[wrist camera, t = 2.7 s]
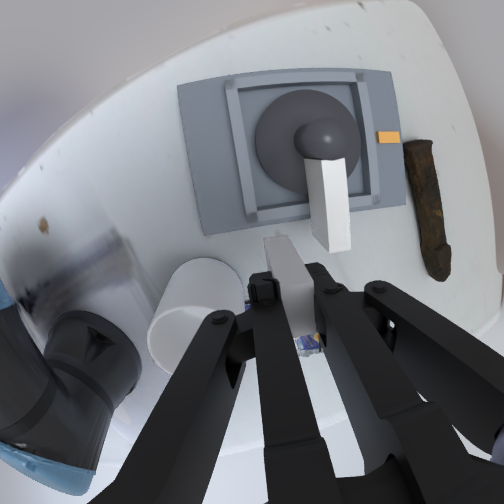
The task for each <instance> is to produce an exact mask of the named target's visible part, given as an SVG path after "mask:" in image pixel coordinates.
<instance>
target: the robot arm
mask: <svg viewBox="0 0 504 504" xmlns="http://www.w3.org/2000/svg"><path fill="white" fill-rule="evenodd" d="M264 246H265V253H266V259H267V266H268V271H267V272H261V273H255V274H252V275H251V277H250V278H249V284H248V287H247V288H248V293H249V299H250V304H251V306H250V308H249V309H248V310H246V311H245V312H243V313H241V314H238V315H235V314H234V313H233V312H232V311H230V310H216V311H213V312H211V313H210V314H208V315H207V316H206V317H205V318H204V320H203V321H202V323H201V325H200V327H199V328H198V330H197V332H196V334H195V335H194V337H193V339H192V341H191V343H190V344H189V346H188V348H187V350H186V351H185V353H184V355H183V357H182V359H181V360H180V362H179V364H178V366H177V368H176V369H175V371H174V373H173V375H172V376H171V378H170V380H169V382H168V384H167V385H166V387H165V389H164V391H163V393H162V394H161V396H160V398H159V400H158V402H157V403H156V405H155V407H154V409H153V411H152V413H151V414H150V416H149V418H148V420H147V422H146V423H145V425H144V427H143V429H142V431H141V432H140V434H139V436H138V438H137V440H136V442H135V443H134V445H133V447H132V449H131V451H130V453H129V454H128V456H127V458H126V460H125V462H124V464H123V465H122V467H121V469H120V471H119V473H118V475H117V477H116V478H115V480H114V481H113V482H112V483H111V484H110V485H109V486H107V487H106V488H105V489H104V490H103V491H102V492H100V493H99V494H98V495H97V496H96V497H95V498H93V499H92V500H91V501H90V502H89V503H87V504H202V502H203V499H204V496H205V493H206V490H207V488H208V485H209V482H210V479H211V476H212V473H213V470H214V467H215V463H216V460H217V458H218V454H219V451H220V448H221V445H222V442H223V439H224V436H225V433H226V429H227V426H228V423H229V420H230V417H231V413H232V410H233V407H234V404H235V400H236V397H237V394H238V391H239V387H240V384H241V381H242V377H243V374H244V371H245V367H246V361H247V360H249V359H252V358H254V357H256V365H257V375H258V385H259V395H260V405H261V415H262V424H263V434H264V444H265V447H264V463H265V472H266V482H267V492H268V500H269V501H268V502H266V503H265V504H504V357H503V356H501V355H500V354H498V353H497V352H496V351H494V350H493V349H491V348H490V347H489V346H487V345H486V344H484V343H482V342H481V341H480V340H478V339H477V338H475V337H474V336H472V335H471V334H469V333H468V332H466V331H465V330H463V329H462V328H460V327H459V326H457V325H456V324H454V323H453V322H451V321H450V320H448V319H447V318H445V317H443V316H442V315H440V314H439V313H437V312H436V311H434V310H432V309H431V308H429V307H428V306H426V305H425V304H423V303H421V302H420V301H418V300H416V299H415V298H413V297H412V296H410V295H408V294H407V293H405V292H403V291H402V290H400V289H399V288H397V287H395V286H394V285H392V284H390V283H388V282H386V281H381V280H378V281H377V280H376V281H372V282H369V283H367V284H366V285H365V287H364V292H350V291H349V290H348V289H347V288H346V287H345V286H344V285H343V284H340V283H336V282H335V281H334V280H333V278H332V277H331V275H330V274H329V272H328V271H327V270H326V268H325V267H324V265H322V264H320V263H318V262H316V263H310V264H304V263H303V262H302V260H301V258H300V256H299V255H298V253H297V251H296V249H295V248H294V246H293V244H292V242H291V241H290V239H289V237H288V236H287V235H283V236H276V237H270V238H264ZM13 303H14V301H13V299H12V297H10V296H9V295H8V293H7V291H6V289H5V287H4V285H3V283H2V281H1V279H0V459H2V460H3V461H4V462H6V463H7V464H9V465H10V466H11V467H13V468H15V469H16V470H18V471H19V472H21V473H23V474H24V475H26V476H28V477H30V478H32V479H33V480H35V481H37V482H39V483H41V484H43V485H46V486H48V487H50V488H52V489H55V490H57V491H60V492H63V493H66V494H69V495H74V496H81V495H83V494H85V493H86V492H87V491H88V489H89V487H90V483H91V481H92V478H93V475H95V474H96V469H97V465H98V462H99V458H100V454H101V451H102V447H103V444H104V441H105V437H106V434H107V431H108V428H109V424H110V421H111V418H112V415H113V412H114V410H115V409H116V408H117V407H118V406H119V404H120V403H121V402H122V401H123V400H124V398H125V396H127V395H128V394H130V393H131V392H132V391H133V390H134V388H135V387H136V385H137V382H138V379H139V377H140V374H141V361H140V357H139V354H138V352H137V350H136V348H135V347H134V345H133V344H132V342H131V341H130V340H129V339H128V337H127V336H126V335H125V334H124V333H123V332H122V331H121V330H120V329H118V328H117V327H116V326H115V325H113V324H112V323H110V322H109V321H107V320H106V319H104V318H102V317H100V316H98V315H95V314H92V313H89V312H85V311H70V312H67V313H64V314H63V315H61V316H60V317H59V318H58V319H57V321H56V322H55V323H54V324H53V326H52V327H51V329H50V331H49V334H48V340H47V343H46V346H45V350H44V353H43V355H42V354H41V352H40V351H39V349H38V347H37V346H36V344H35V343H34V341H33V339H32V338H31V336H30V334H29V333H28V331H27V329H26V327H25V326H24V324H23V322H22V320H21V318H20V316H19V315H18V313H17V311H16V309H15V307H14V305H13ZM390 321H392V322H393V323H394V324H395V326H394V328H392V327H391V326H390ZM316 326H317V328H318V334H319V352H321V348H322V349H323V352H324V354H325V357H326V359H327V362H328V364H329V367H330V370H331V372H332V375H333V377H334V380H335V383H336V385H337V388H338V390H339V393H340V396H341V398H342V401H343V404H344V406H345V409H346V412H347V414H348V417H349V420H350V422H351V425H352V428H353V431H354V433H355V436H356V439H357V442H358V445H359V448H360V450H361V453H362V456H363V459H364V472H365V475H364V476H356V477H343V478H336V477H335V473H334V470H333V466H332V462H331V459H330V455H329V451H328V448H327V445H326V442H325V440H324V438H323V437H321V435H320V432H319V429H318V425H317V421H316V418H315V414H314V411H313V407H312V403H311V400H310V396H309V393H308V389H307V385H306V382H305V378H304V375H303V371H302V368H301V364H300V361H299V357H298V354H297V350H296V347H295V343H294V340H293V338H295V337H300V336H305V335H310V334H315V333H316ZM418 393H419V394H421V395H422V396H423V397H424V398H425V399H426V400H427V401H428V402H425V401H423V400H422V399H421V397H420V396H419V394H418ZM451 424H452V425H453V426H454V427H455V428H456V429H457V430H458V431H459V432H460V433H461V434H462V435H463V436H464V437H465V438H466V439H468V440H469V441H470V442H471V443H472V444H473V445H475V446H476V447H478V448H479V449H481V450H482V451H484V452H486V453H488V454H490V455H492V458H491V459H490V461H488V460H485V459H482V458H479V457H476V456H473V455H471V454H469V453H468V452H467V450H466V448H465V447H464V445H463V443H462V441H461V440H460V438H459V437H458V435H457V433H456V431H455V430H454V428H453V426H452V425H451Z"/></svg>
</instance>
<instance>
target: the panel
mask: <svg viewBox="0 0 504 504" xmlns="http://www.w3.org/2000/svg"><path fill="white" fill-rule="evenodd" d="M302 89H310V90H317V91H321V92H324V93H326V94H329V95H331V96H332V97H334V98H336V99H337V100H339V101H340V102H341V103H342V104H343V105H344V106H345V107H346V108H347V109H348V110H349V111H350V113H351V114H352V116H353V117H354V119H355V121H356V123H357V126H358V129H359V133H360V139H361V150H360V156H359V160H358V163H357V165H356V167H355V169H354V171H353V172H352V174H351V175H350V176H349V178H348V179H347V188H348V200H349V212H356V211H363V210H370V209H378V208H385V207H393V206H400V205H406V189H405V169H404V156H403V145H402V136H401V128H400V120H399V113H398V107H397V101H396V95H395V90H394V85H393V80H392V75H391V72H389V71H379V70H367V69H349V68H299V69H281V70H268V71H258V72H250V73H242V74H235V75H228V76H222V77H216V78H210V79H205V80H200V81H195V82H191V83H186V84H182V85H178V86H177V91H178V98H179V105H180V111H181V117H182V124H183V130H184V136H185V141H186V147H187V153H188V158H189V164H190V169H191V175H192V180H193V185H194V190H195V195H196V200H197V205H198V210H199V215H200V220H201V225H202V229H203V234H204V236H206V235H212V234H218V233H223V232H229V231H235V230H241V229H247V228H253V227H259V226H265V225H271V224H277V223H283V222H290V221H296V220H302V219H309V218H311V214H310V205H309V196H308V194H302V193H297V192H294V191H291V190H289V189H287V188H285V187H283V186H282V185H280V184H279V183H277V182H276V181H275V180H274V179H272V178H271V177H270V176H269V175H268V174H267V173H266V171H265V170H264V168H263V167H262V165H261V163H260V161H259V159H258V156H257V153H256V149H255V132H256V127H257V124H258V121H259V119H260V117H261V116H262V114H263V113H264V111H265V110H266V108H267V107H268V106H269V105H270V104H271V103H272V102H273V101H274V100H276V99H277V98H278V97H280V96H282V95H283V94H286V93H288V92H291V91H295V90H302Z"/></svg>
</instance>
